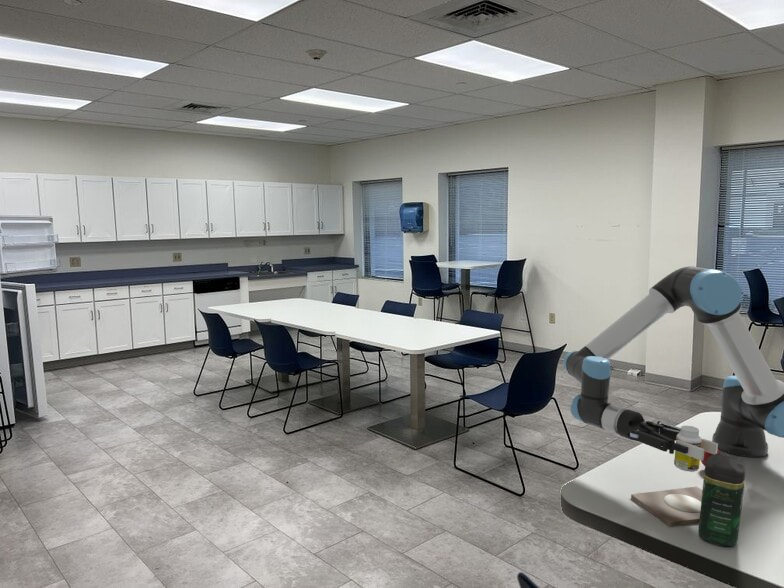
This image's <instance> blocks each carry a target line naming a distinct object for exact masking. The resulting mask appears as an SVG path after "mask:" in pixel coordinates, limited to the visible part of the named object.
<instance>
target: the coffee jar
mask: <svg viewBox="0 0 784 588" xmlns="http://www.w3.org/2000/svg"><path fill="white" fill-rule="evenodd" d="M745 475H746V467H745V464H744V463H743V461H741V460H740V459H738V458H737V456H733V455H729V454H724V453H722V454H720V453H717V454H714V455H711V456H709V457H708V458H707V460H706V462H705V466H704V472H703V481H702V500H701V511H700V519H699V523H698V535H699V536H700V537H701V539H703V540H705V541H707V542H709V543H711V544H713V545H716V546H721V547H723V546H724V547H725V546H726V547H733V546H735V545H736V544H737V542H738V539H739V532H740V525H741V515H742V507H743V501H744V499H743V498H744V490H745V489H744V488H745V478H746V476H745Z"/></svg>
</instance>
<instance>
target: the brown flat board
mask: <svg viewBox="0 0 784 588" xmlns="http://www.w3.org/2000/svg"><path fill="white" fill-rule="evenodd" d="M702 490H703V488H702V489H701V488H699V487H698V486H690V487H688V486H687V487H682V488H681V487H680V488H672V489H663V490H656V491H650V492H648V491H646V492H638V493H633V494H632V493H631V494H630V499H632V500H633V501H634V502H635V503H637V504H639V505H640V506H641V507H642V508H644V509H645V510H646V511H648V512H649V513H650V514H652V515H653V516H655V517H656V518H657V519H658V520H660V521H661V522H663V523H664V524H665V525H667V526H668V527H676V526H682V525H683V526H684V525H689V524H699V519H700V511H701V500H702Z"/></svg>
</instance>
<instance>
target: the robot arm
mask: <svg viewBox="0 0 784 588" xmlns="http://www.w3.org/2000/svg"><path fill="white" fill-rule="evenodd" d="M741 297H742V288H741V284H740V283H739V281H738V280H737V279H736V278H735V277H734V276H733V275H732V274H729V273H727V272H725V271H723V270H719V269H715V268H713V269H712V268H711V269H709V268H704V267H698V266H684V267H681V268H678V269H675V270H673V271H672V272H671V273H669V274H667V275H666V276H665V277H663V278H662V279H661V280H659V281H658V282H657V283H655V284H654V285H653V286H652V287H650V288H649V289H648V294H647V295H646V296H645V297H643V298H642V299H641V300H640V301H639V302H637V303H636V304H635V305H634V306H633V307H631V308H630V309H629V310H628V311H627V312H624V314H622V315H621V316H620V317H619V318H618V319H617V320H615V321H614V322H613V323H611V324H610V325H609V326H608V327H606V328H605V329H603V331H601V332H600V333H599V334H598V335H597V336H596V337H594V338H593V339H591V340H590V341H589V342H588V343H587V344H585V345H584V346H583V347H582V348H581V349H579V350H578V351H577V350H572V351H569V352H567V354H565V356H564V358H563V362H562V363H563V364H562V365H563V368H564V370H565V371H566V373H568V374H569V375H570V376H571V377H572V378H574V379H575V380H576V381H578V382H579V383H580V384H581V385H580V394H577V395H576V396H574V397H573V398H572V402H571V404H570V413H571V416H573V418H574V419H576V420H578V421H580V422H582V423H584V424H586V425H590V426H593V427H595V428H599V429H601V430H603V431H604V430H605V431H607V432H610V433H611V434H612V435H619V436H620V437H623V438H625V439H629V440H631V441H635V442H639V443H641V444H645V445H646V446H650V447H651V448H655V449H657V450H660V451H662V452H668V454H670V455H675V451H676V452H679V453H682V454H685V455H687V456H690V457H693V458H696V459H698V460H700V462H701V461H702V460H703V459H704V451H706V452H708V453H711V454H717V449H718V450H719V451H723V452H725V453H729V454H731V455H735V456H740V457H746V458H761V456H762V457H766V456H767V455H768V453H769V444H768V443H767V439H766V432H767V433H768V434H769V435H772V436H775V437H778V438H784V382H783V381H782V380H779V379H776V378H775V375H774V374H773V373H772V370H771V369H770V367H769V365H768V363H767V361H766V359H765V358H764V356H763V354H762V352H761V350H760V349H759V347H758V345H757V343H756V341H755V339H754V338H753V336H752V333H751V332H750V330H749V328H748V326H747V324H746V323H745V321H744V319H743V317H742V316H741V314H740V312H741V309H742V308H743V305H742V303H741ZM683 307H688V308H690V309H691V310H692V313H693V314H694V316H695V318H696V319H697V321H698V322H699V323H700V324H702V325H704V326H707V328H709V331H710V332H711V334H712V336H713V337H714V339H715V341H716V343H717V345H718V347H719V348H720V350H721V353H722V355H724V357H725V360H726V362H727V363H728V364H729V366H730V368H731V370H732V372H733V373H734V375H729V376H726V377H725V378H724V380H723V381H724V382H723V386H722V398H721V410H720V420H719V422H718V424H717V426H716V428H715V430H714V432H713V435H712V438H711V440H708V439H705V438H702V437H701V439H702V444H701V448H700V447H697V446H694V445H691V444H688V443H685V442H682V441H679V440H676V437H677V434H678V433H680V432H681V427H680V426H675V425H672V424H670V423H666V422H664V421H662V420H657V423H655V422H653V421H650V420H645V418H644V416H643V414H641V412H638V411H634V410H632V409H627V408H626V407H624V406H619V405H616V404H613V403H609V391H610V383H611V375H612V370H611V361H610V359H612V357H614V356H615V355H616V354H618V353H619V352H620V351H621V350H622V349H624V348H626V346H628V344H630V343H631V342H632V341H634V340H635V339H636V338H637V337H639V336H640V335H641V334H643V333H644V332H645V331H647V330H648V329H649V328H650V327H651V326H652V325H654V324H655V323H656V322H658V321H659V320H661V318H663V317H664V316H665V315H666V314H673V313H675V312H676V311H677V310H679V309H680V308H683ZM765 431H766V432H765ZM766 454H767V455H766Z"/></svg>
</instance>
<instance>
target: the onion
mask: <svg viewBox="0 0 784 588" xmlns="http://www.w3.org/2000/svg"><path fill="white" fill-rule="evenodd" d="M717 453H720V454H723V453H722V452H721V450H720V449H717ZM711 455H714V454H711V453H708V452H706V451H704V459H703V460H702V461H701V460H700V462H701V464H702V465H703V466H704V467H705V462H706V460H707V458H708V457H709V456H711Z"/></svg>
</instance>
